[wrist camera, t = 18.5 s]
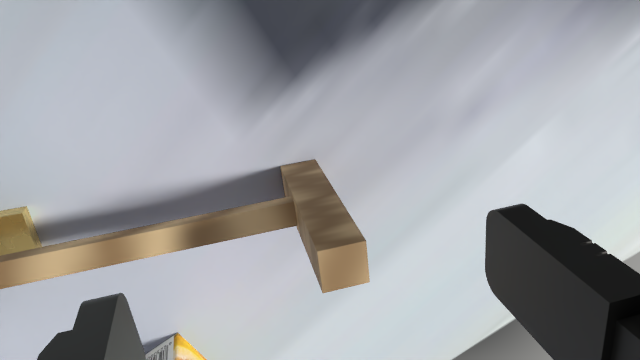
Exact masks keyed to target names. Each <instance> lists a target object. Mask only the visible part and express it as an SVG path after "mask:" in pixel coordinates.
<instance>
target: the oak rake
mask: <svg viewBox="0 0 640 360" xmlns="http://www.w3.org/2000/svg"><path fill="white" fill-rule="evenodd" d="M280 168H281V174H282V180H283V186H284V193H285V198H280V199H275V200H270V201H265V202H260V203H256V204H251V205H246V206H241V207H236V208H231V209H226V210H221V211H216V212H211V213H207V214H202V215H197V216H192V217H187V218H182V219H177V220H172V221H167V222H162V223H158V224H153V225H148V226H143V227H138V228H133V229H128V230H123V231H118V232H113V233H109V234H104V235H99V236H94V237H89V238H84V239H79V240H74V241H69V242H64V243H59V244H55V245H50V246H45V247H40V248H35V249H30V250H25V251H20V252H15V253H10V254H6V255H1V256H0V289H3V288H7V287H12V286H17V285H21V284H26V283H31V282H35V281H40V280H45V279H49V278H54V277H59V276H64V275H68V274H73V273H78V272H82V271H87V270H92V269H96V268H101V267H106V266H110V265H115V264H120V263H124V262H129V261H134V260H138V259H143V258H148V257H152V256H157V255H162V254H166V253H171V252H176V251H180V250H185V249H190V248H194V247H199V246H204V245H208V244H213V243H218V242H223V241H227V240H232V239H237V238H241V237H246V236H251V235H255V234H260V233H265V232H269V231H274V230H279V229H283V228H288V227H293V226H297V229H298V231H299V234H300V237H301V239H302V242H303V244H304V247H305V249H306V252H307V254H308V257H309V259H310V262H311V264H312V267H313V269H314V272H315V275H316V277H317V280H318V282H319V285H320V287H321V290H322V292H323V293H326V292H330V291H334V290H338V289H343V288H347V287H351V286H355V285H359V284H364V283H368V282H370V281H369V270H368V258H367V247H366V240H365V238H364V237H363V235H362V234H361V232H360V230H359V229H358V227H357V226H356V224H355V222H354V221H353V219H352V218H351V216H350V214H349V213H348V211H347V210H346V208H345V206H344V205H343V203H342V202H341V200H340V198H339V197H338V195H337V194H336V192H335V190H334V189H333V187H332V186H331V184H330V182H329V181H328V179H327V178H326V176H325V174H324V173H323V171H322V169H321V168H320V166H319V165H318V163H317V161H316V160H315V159H314V160H309V161H304V162H299V163H294V164H289V165H283V166H280Z"/></svg>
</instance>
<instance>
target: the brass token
mask: <svg viewBox="0 0 640 360" xmlns="http://www.w3.org/2000/svg"><path fill="white" fill-rule="evenodd" d="M40 247H42V245H41V243H40V240H39V237H38V235H37V232H36V230H35V227H34V224H33V222H32V219H31V216H30V214H29V211H28V208H27V206H26V207H20V208H14V209H9V210H3V211H0V256H1V255H6V254H10V253H15V252H20V251H25V250H30V249H35V248H40Z"/></svg>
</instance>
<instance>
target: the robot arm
mask: <svg viewBox="0 0 640 360" xmlns="http://www.w3.org/2000/svg"><path fill="white" fill-rule="evenodd" d="M485 272H486V277H487V281H488V283H489V286H490V288H491V290H492V292H493V293H494V295H495V296H496V297H497V298H498V299H499V300H500V301H501V302H502V304H503V305H504V306H505V307H506V308H507V309H508V310H509V311H510V312H511V313H512V315H513V316H514V317H515V318H516V319H517V320H518V321H519V322H520V323H521V324H522V325H523V326H524V328H525V329H526V330H527V331H528V332H529V333H530V334H531V335H532V337H533V338H534V339H535V340H536V341H537V342H538V343H539V344H540V345H541V346H542V347H543V349H544V350H545V351H546V352H547V353H548V354H549V355H550V356H551V357H552V358H553V359H554V360H640V274H639V273H637V272H636V271H634V270H633V269H631V268H630V267H629V266H627V265H626V264H624V263H623V262H622V261H620V260H619V259H617V258H616V257H614V256H613V255H612V254H607V251H606V250H604V249H603V248H601V247H600V246H599V245H597V244H596V243H594V244H593V243H592V241H591V240H590V239H589V238H587V237H586V236H584V235H583V234H581V233H580V232H579V231H577V230H576V229H574V228H572V227H569V226H566V225H564V224H561V223H558V222H556V221H553V220H546V219H545V218H544V217H542V216H541V215H539V214H538V213H537V212H535V211H534V210H533V209H531V208H530V207H528V206H527V205H525V204H518V205H513V206H509V207H505V208H500V209H496V210H492V211H490V212H489V213H488V215H487V219H486V253H485ZM37 360H146V356H145V352H144V349H143V346H142V343H141V340H140V337H139V334H138V331H137V328H136V325H135V322H134V320H133V317H132V314H131V311H130V308H129V305H128V302H127V299H126V297H125V296H124V294H122V293H119V294H114V295H110V296H105V297H101V298H96V299H92V300H88V301H84V302H82V304H81V306H80V308H79V311H78V315H77V318H76V321H75V324H74V327H73V330H69V331H65V332H61V333H58V334H57V335H56V336H55V337H54V338H53V339H52V340H51V342H50V343H49V344H48V345H47V346H46V347H45V348H44V350H43V351H42V352H41V353H40V354H39V356H38V359H37Z"/></svg>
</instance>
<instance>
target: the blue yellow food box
mask: <svg viewBox="0 0 640 360" xmlns="http://www.w3.org/2000/svg"><path fill="white" fill-rule="evenodd" d="M145 356H146V360H207V359H206V358H204V357H203V356H202V355H201V354H200V353H199V352H198V351H197V350H196V349H195V348H194V347H193V346H192V345H190V344H189V343H188V342H187V341H186V340H185V339H184V338H183V337H182V336H181V335H180V334H179V333H176V334H175V335H173V336H172V337H171V338H169V339H168V340H166V341H165V342H163V343H162V344H160V345H159V346H157V347H156V348H154V349H153V350H151V351H150V352H148V353H147V354H146V355H145Z"/></svg>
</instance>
